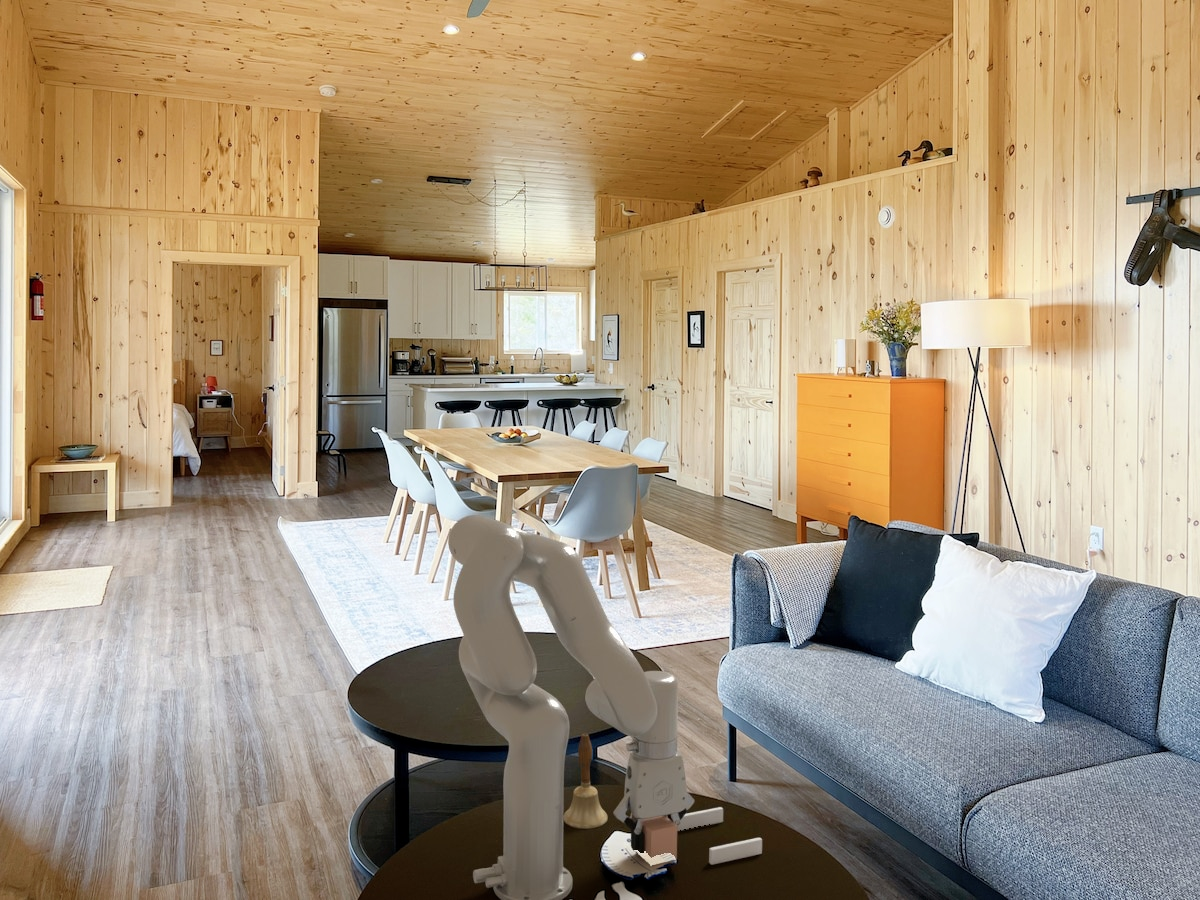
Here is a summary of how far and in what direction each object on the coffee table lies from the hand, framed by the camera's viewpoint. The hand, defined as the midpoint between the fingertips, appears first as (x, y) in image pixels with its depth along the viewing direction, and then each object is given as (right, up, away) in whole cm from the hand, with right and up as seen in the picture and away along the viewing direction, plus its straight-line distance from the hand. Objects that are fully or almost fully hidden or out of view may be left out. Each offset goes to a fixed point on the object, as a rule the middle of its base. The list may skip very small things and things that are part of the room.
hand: (654, 848), depth 157 cm
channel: (+11, -1, +5) cm, 12 cm away
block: (0, -1, -1) cm, 1 cm away
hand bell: (-12, 0, +13) cm, 18 cm away
